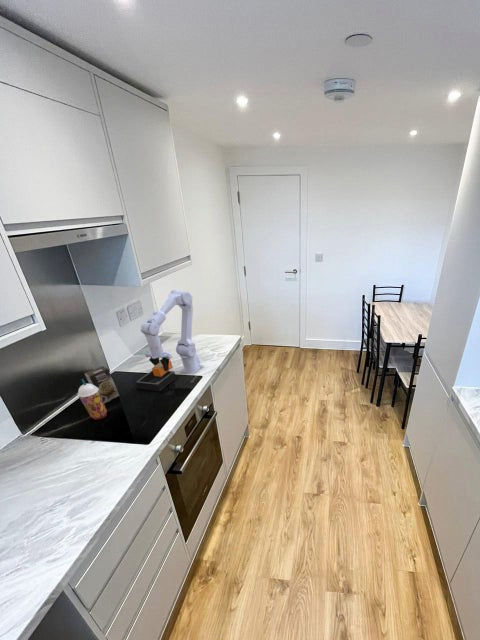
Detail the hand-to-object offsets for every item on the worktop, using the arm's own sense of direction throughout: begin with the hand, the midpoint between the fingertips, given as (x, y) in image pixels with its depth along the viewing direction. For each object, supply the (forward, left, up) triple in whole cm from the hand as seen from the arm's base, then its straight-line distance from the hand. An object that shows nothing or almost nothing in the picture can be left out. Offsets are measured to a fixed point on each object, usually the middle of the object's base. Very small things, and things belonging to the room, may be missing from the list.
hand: (163, 370), depth 169 cm
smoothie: (+33, -14, -9) cm, 37 cm away
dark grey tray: (0, -6, -9) cm, 11 cm away
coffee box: (+19, -22, -9) cm, 30 cm away
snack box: (0, 0, -1) cm, 1 cm away
